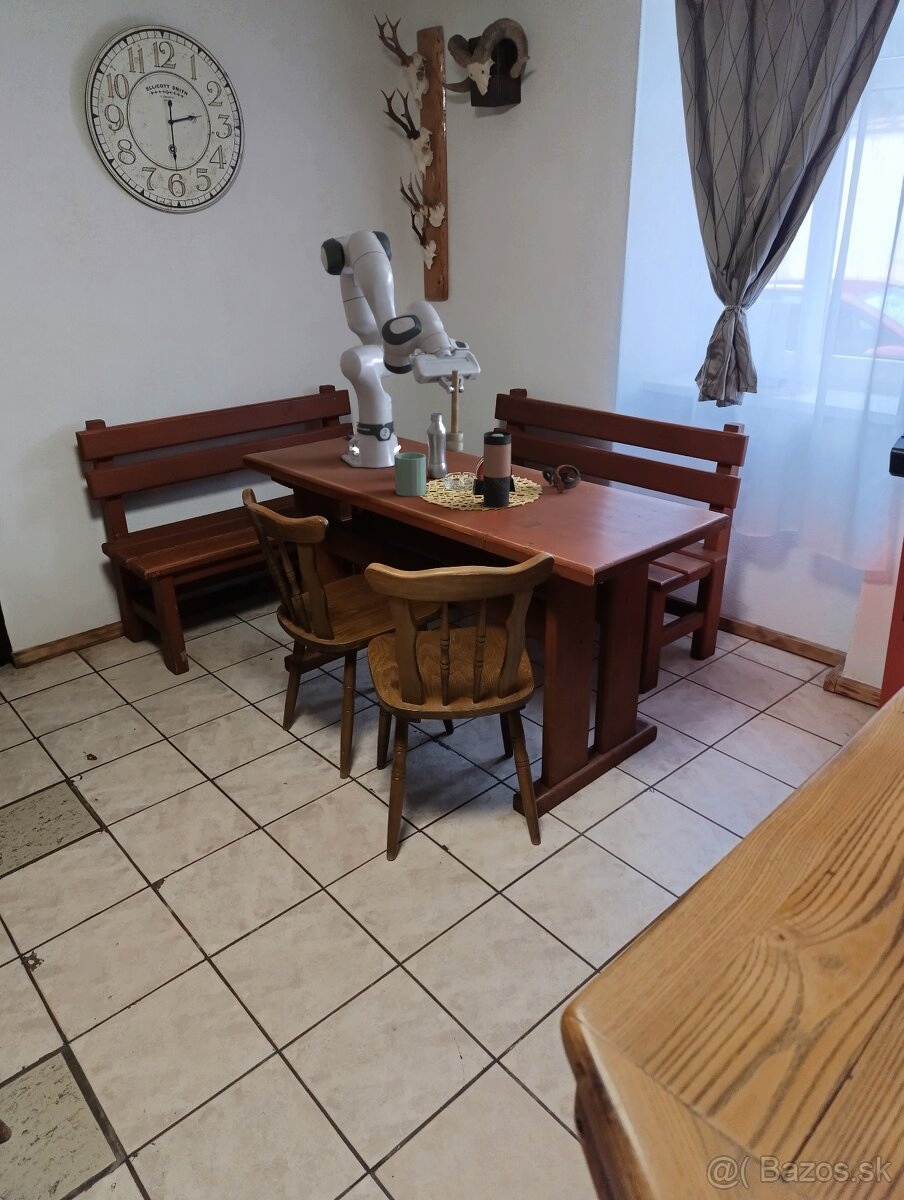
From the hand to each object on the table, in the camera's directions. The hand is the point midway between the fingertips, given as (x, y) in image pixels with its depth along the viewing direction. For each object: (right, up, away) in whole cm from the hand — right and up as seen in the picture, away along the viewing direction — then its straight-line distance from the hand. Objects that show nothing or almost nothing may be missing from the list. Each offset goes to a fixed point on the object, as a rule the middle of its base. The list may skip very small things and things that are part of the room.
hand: (456, 392), depth 225 cm
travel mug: (+11, -31, +5) cm, 33 cm away
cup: (-14, -26, +17) cm, 34 cm away
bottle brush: (-1, -15, +7) cm, 16 cm away
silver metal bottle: (-6, -19, +33) cm, 39 cm away
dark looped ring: (+32, -24, +20) cm, 45 cm away
